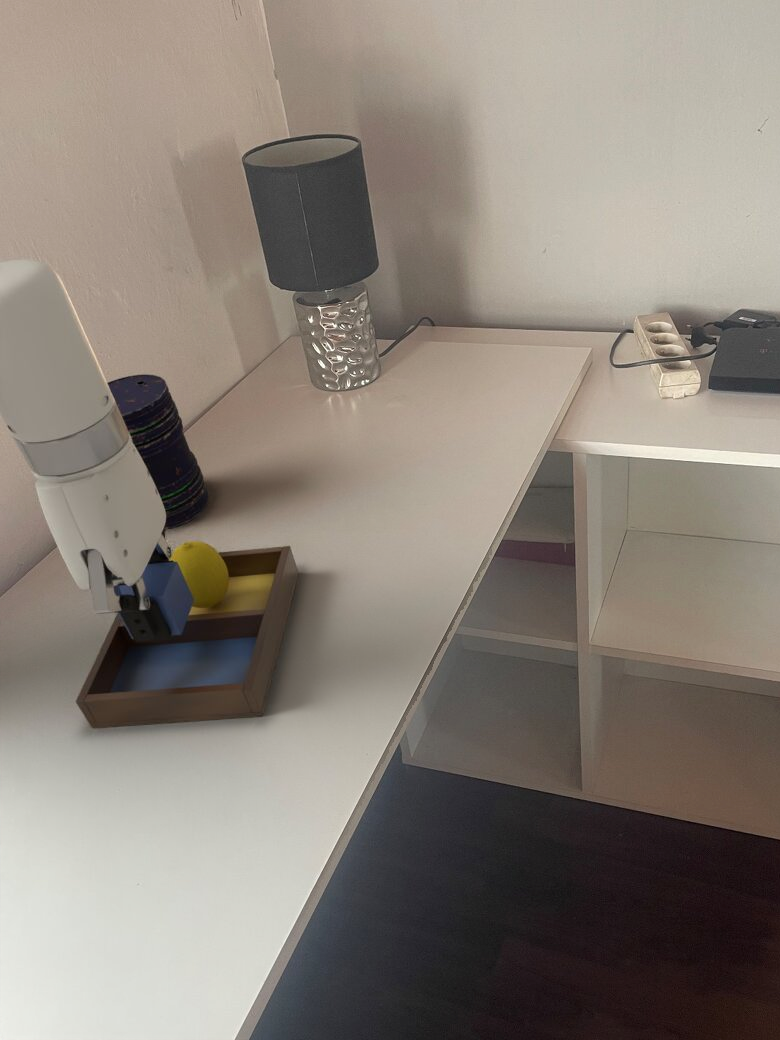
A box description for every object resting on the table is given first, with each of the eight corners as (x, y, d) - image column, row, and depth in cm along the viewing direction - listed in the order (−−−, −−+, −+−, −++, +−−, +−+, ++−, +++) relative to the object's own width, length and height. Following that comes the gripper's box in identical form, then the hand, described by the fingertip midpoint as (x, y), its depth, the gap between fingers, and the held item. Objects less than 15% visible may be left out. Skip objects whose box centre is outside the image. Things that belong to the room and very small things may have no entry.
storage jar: (174, 537, 99) (124, 423, 90) (112, 523, 104) (58, 412, 94) (226, 489, 106) (185, 378, 96) (166, 478, 110) (121, 369, 100)
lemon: (175, 608, 88) (146, 546, 83) (221, 580, 91) (196, 519, 86) (201, 632, 85) (173, 569, 80) (248, 603, 87) (224, 540, 82)
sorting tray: (91, 728, 78) (75, 701, 76) (154, 585, 93) (142, 559, 91) (262, 716, 76) (251, 688, 74) (298, 572, 91) (290, 545, 89)
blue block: (131, 639, 75) (111, 600, 72) (147, 604, 78) (127, 566, 75) (181, 634, 74) (162, 595, 71) (194, 600, 78) (177, 561, 75)
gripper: (67, 389, 71) (150, 561, 83) (-23, 509, 58) (89, 692, 70) (154, 378, 70) (225, 554, 82) (82, 498, 57) (178, 685, 69)
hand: (161, 616), depth 76 cm, fingers closed on blue block, 4 cm apart
